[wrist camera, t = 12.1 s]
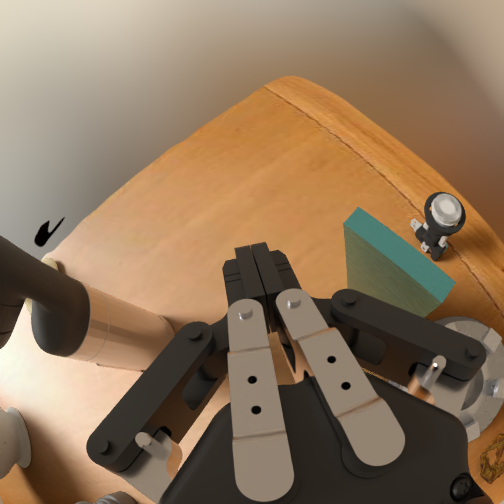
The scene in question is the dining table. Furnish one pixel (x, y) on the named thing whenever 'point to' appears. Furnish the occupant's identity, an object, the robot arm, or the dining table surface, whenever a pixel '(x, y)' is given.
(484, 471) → the leaf
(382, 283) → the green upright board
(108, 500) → the candle holder
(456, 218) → the push button
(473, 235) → the dining table surface
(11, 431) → the grey ceramic vase
